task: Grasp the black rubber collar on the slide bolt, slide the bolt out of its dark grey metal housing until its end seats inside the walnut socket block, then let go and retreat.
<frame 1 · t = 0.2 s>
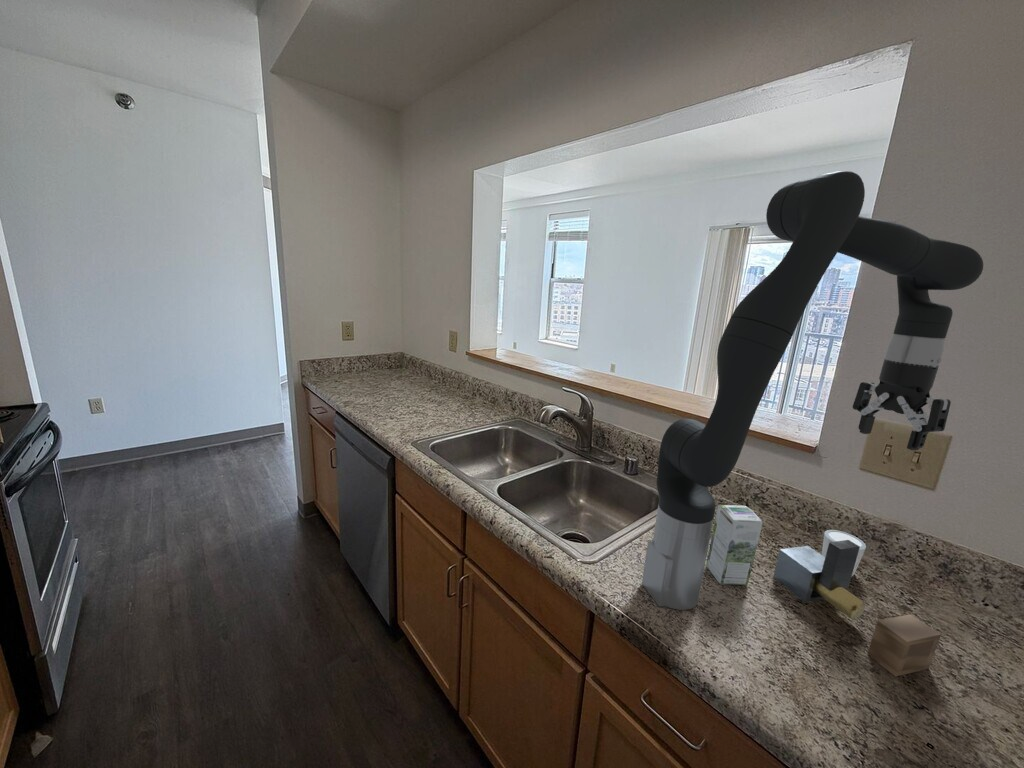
hand: (887, 441, 81), 29 cm above the worktop, fingers open, 8 cm apart
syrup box: (726, 576, 82), on the worktop
housing: (802, 587, 80), on the worktop
socket block: (897, 661, 65), on the worktop
shot glass: (836, 568, 87), on the worktop
slide bolt: (826, 565, 76), point 7 cm above the worktop, slide at 0.0 cm
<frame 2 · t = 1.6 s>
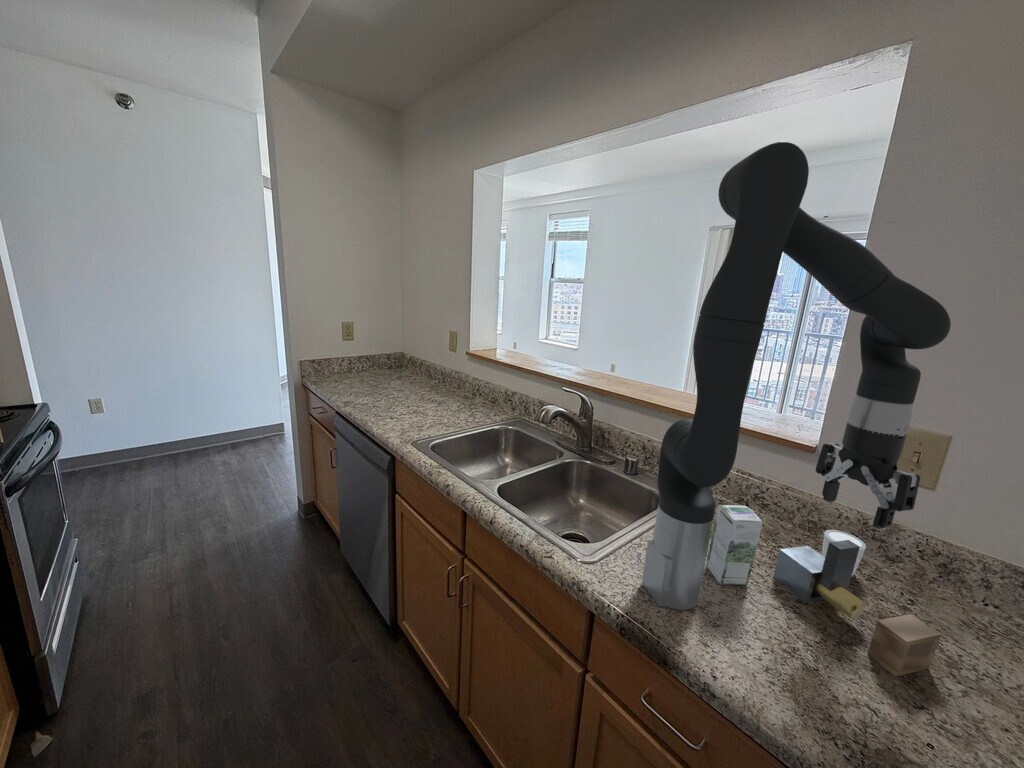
hand: (853, 513, 71), 19 cm above the worktop, fingers open, 8 cm apart
nothing on the worktop moved.
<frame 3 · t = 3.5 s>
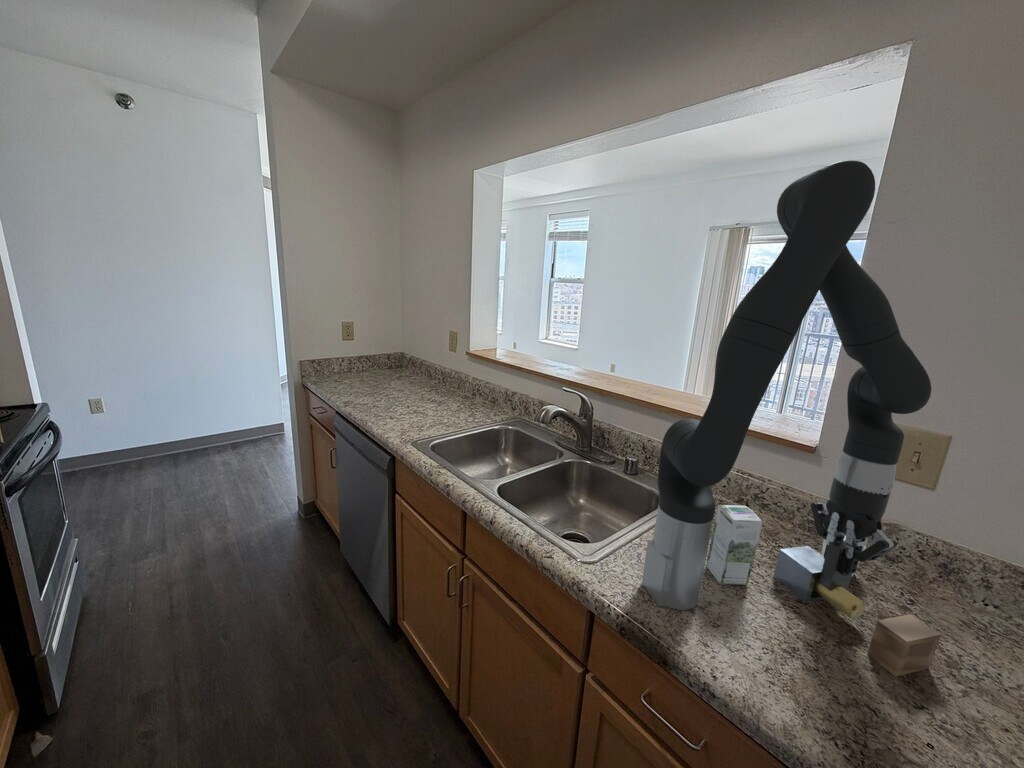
hand: (838, 568, 73), 8 cm above the worktop, fingers closed on slide bolt, 2 cm apart
slide bolt: (826, 565, 76), point 7 cm above the worktop, slide at 0.0 cm, touching gripper
everything else where it was.
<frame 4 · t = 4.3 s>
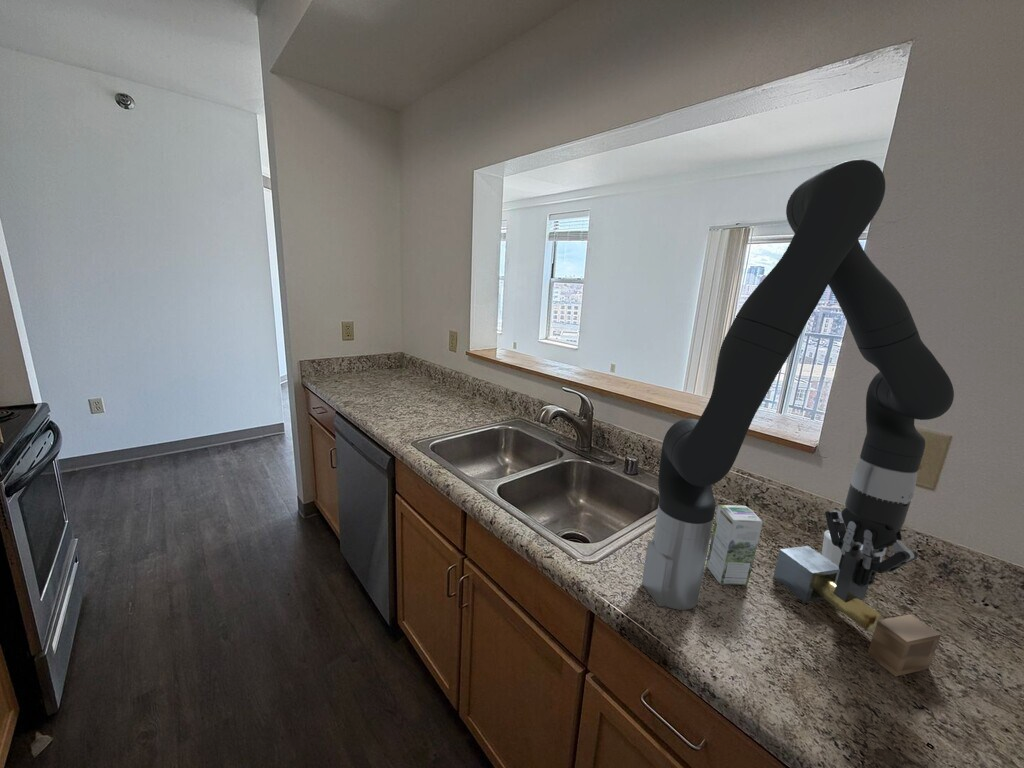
hand: (854, 579, 71), 8 cm above the worktop, fingers closed on slide bolt, 2 cm apart
slide bolt: (841, 575, 73), point 7 cm above the worktop, slide at 2.8 cm, touching gripper
everything else where it was.
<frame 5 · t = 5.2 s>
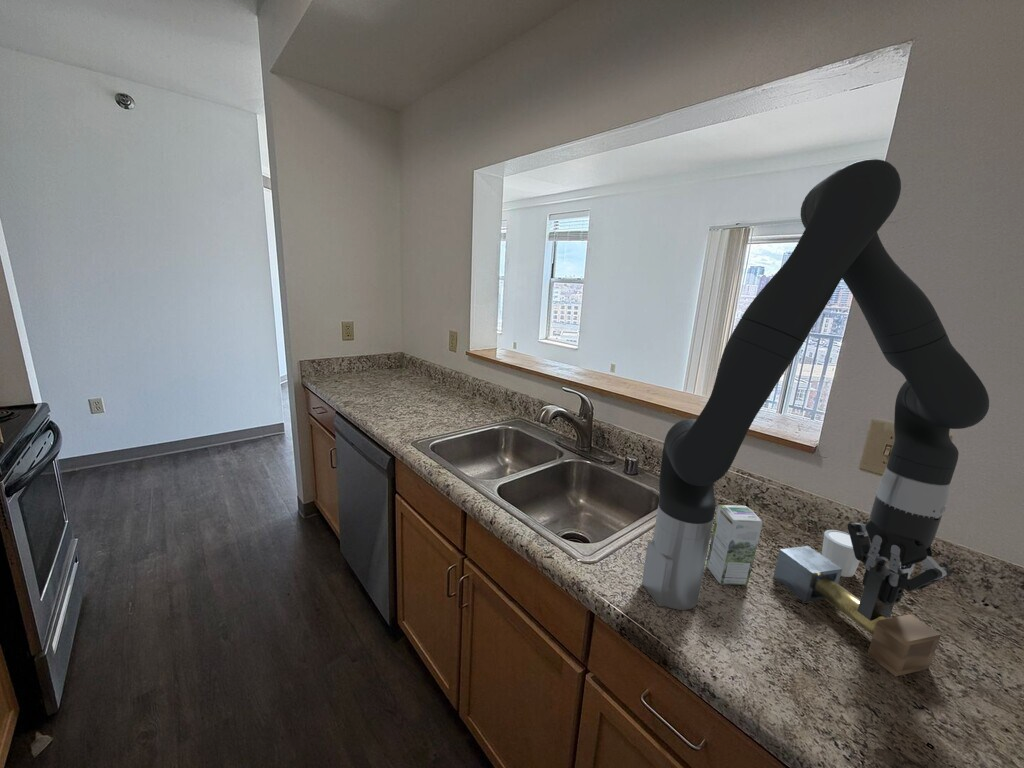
hand: (879, 596, 67), 8 cm above the worktop, fingers closed on slide bolt, 2 cm apart
slide bolt: (864, 591, 69), point 7 cm above the worktop, slide at 6.8 cm, touching gripper
everything else where it was.
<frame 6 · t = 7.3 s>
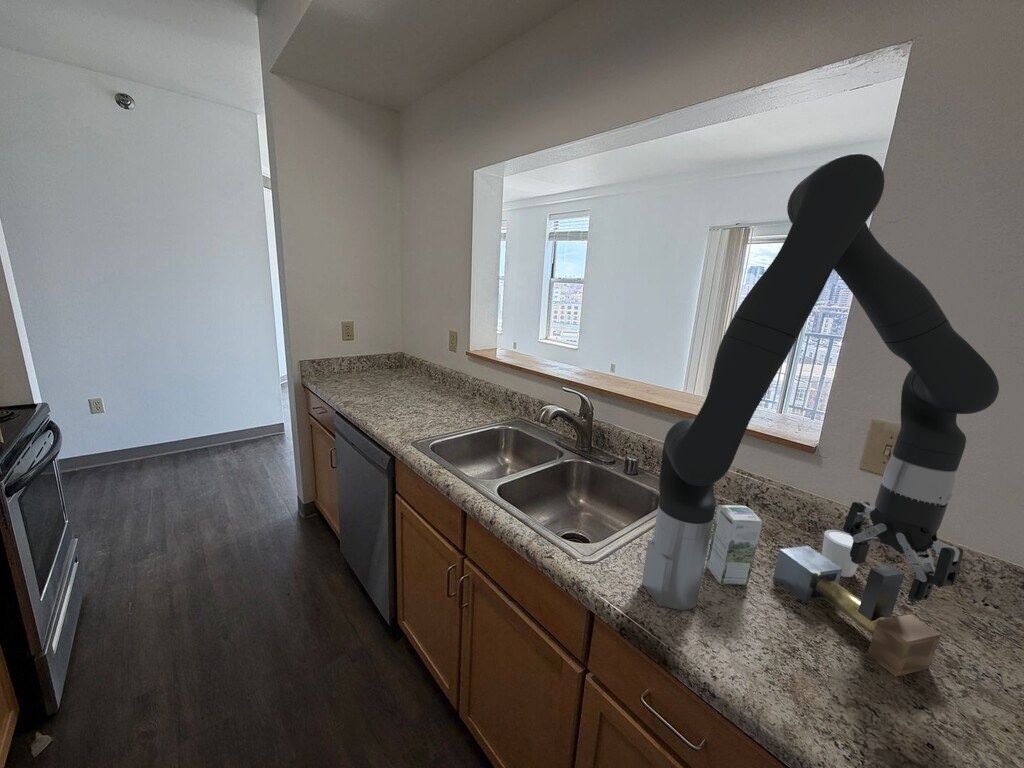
hand: (884, 579, 66), 11 cm above the worktop, fingers open, 8 cm apart
slide bolt: (865, 592, 69), point 7 cm above the worktop, slide at 6.9 cm
everything else where it was.
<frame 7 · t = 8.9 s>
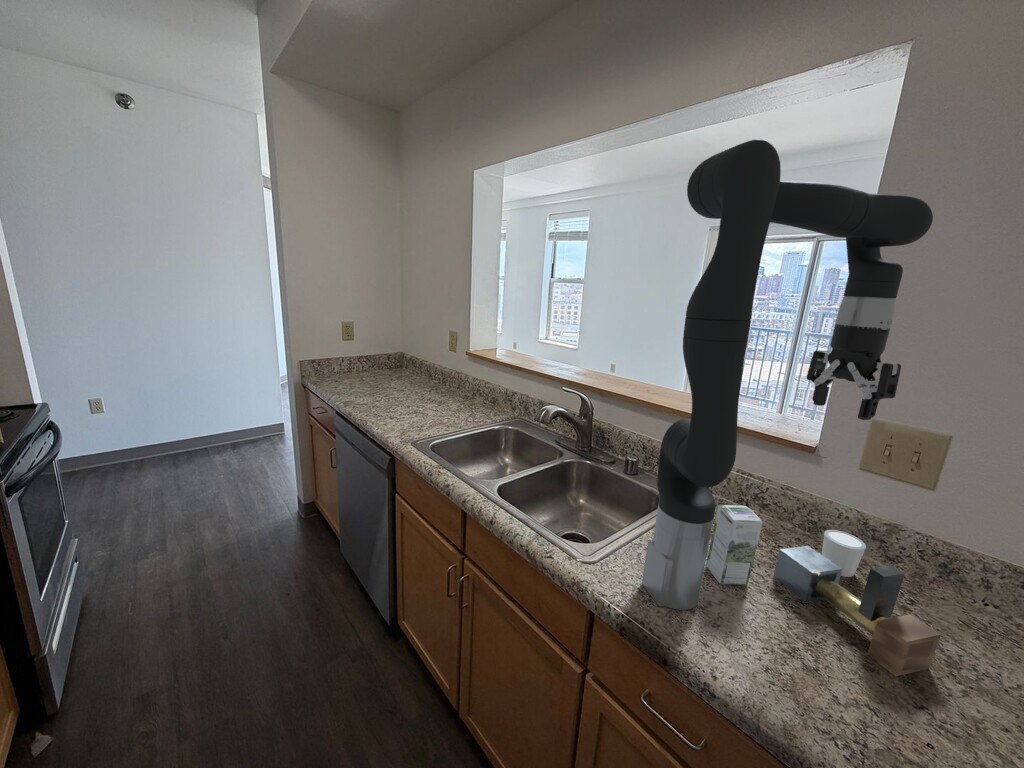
hand: (840, 411, 76), 35 cm above the worktop, fingers open, 8 cm apart
nothing on the worktop moved.
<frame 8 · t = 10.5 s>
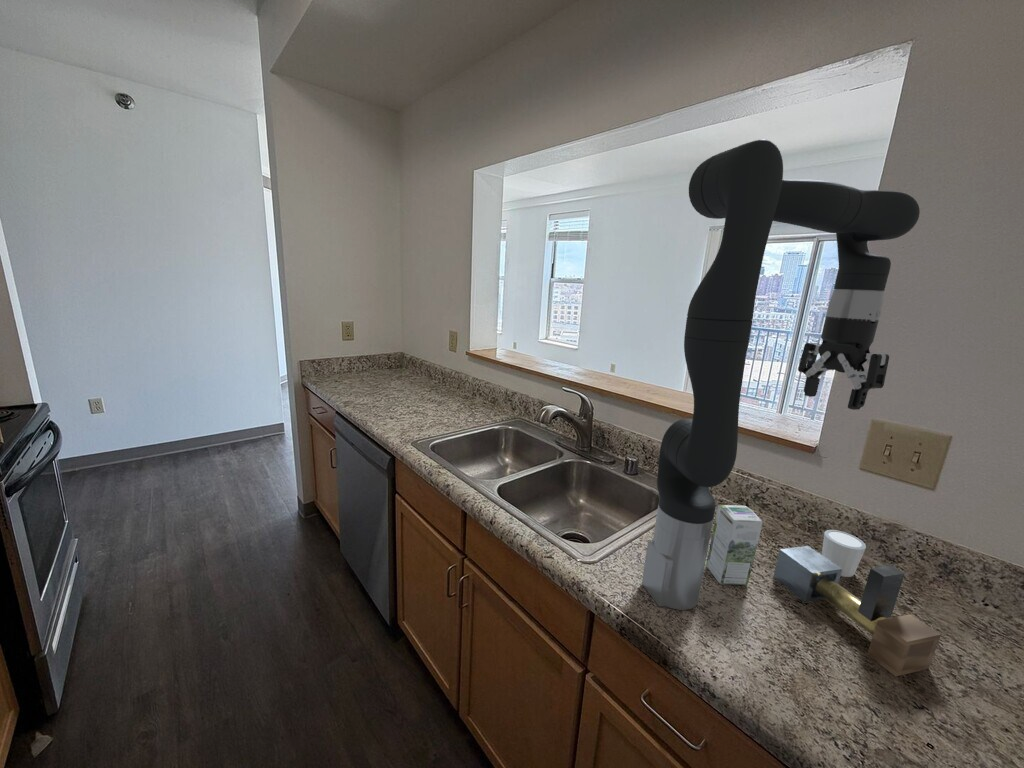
hand: (830, 402, 78), 36 cm above the worktop, fingers open, 8 cm apart
nothing on the worktop moved.
at the end: slide bolt slide at 6.9 cm; the gripper is holding nothing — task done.
